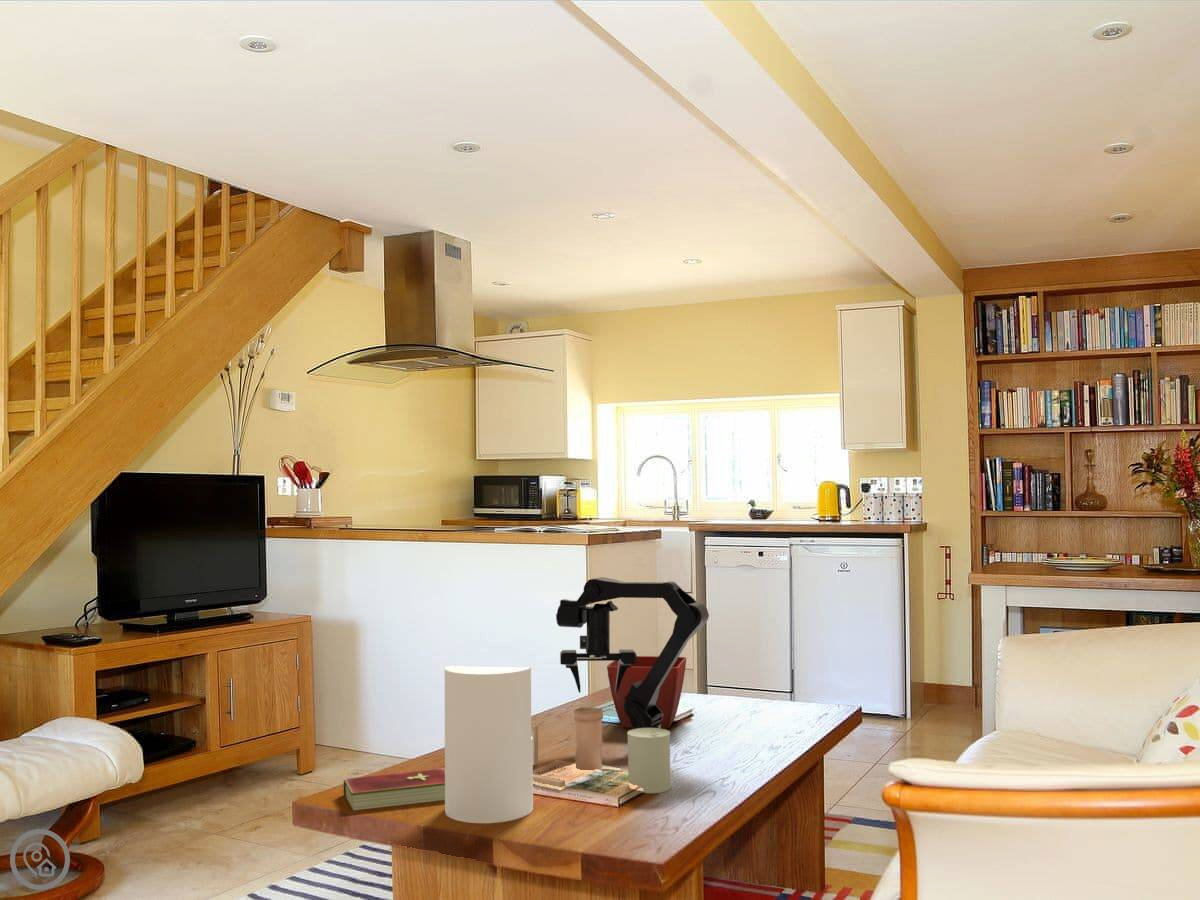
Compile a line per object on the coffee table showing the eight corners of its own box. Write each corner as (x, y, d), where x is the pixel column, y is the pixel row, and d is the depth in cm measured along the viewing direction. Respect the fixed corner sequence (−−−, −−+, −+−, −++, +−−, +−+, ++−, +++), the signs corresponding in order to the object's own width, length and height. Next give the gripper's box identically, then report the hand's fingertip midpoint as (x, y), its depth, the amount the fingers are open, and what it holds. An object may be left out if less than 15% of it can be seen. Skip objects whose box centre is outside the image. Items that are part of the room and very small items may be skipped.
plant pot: (619, 715, 293) (619, 654, 293) (687, 717, 289) (686, 656, 290) (606, 730, 274) (606, 665, 275) (678, 733, 270) (678, 667, 271)
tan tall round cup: (607, 765, 236) (606, 708, 237) (598, 773, 230) (597, 714, 231) (579, 763, 238) (579, 706, 239) (570, 771, 232) (569, 713, 233)
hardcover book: (343, 797, 217) (343, 776, 217) (443, 786, 224) (443, 766, 224) (351, 813, 206) (351, 792, 206) (456, 801, 213) (455, 780, 213)
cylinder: (521, 825, 196) (520, 675, 197) (433, 821, 199) (432, 673, 200) (541, 798, 213) (540, 660, 214) (459, 795, 216) (459, 659, 217)
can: (641, 796, 214) (640, 737, 215) (619, 785, 222) (619, 728, 223) (679, 789, 218) (678, 732, 219) (657, 779, 227) (656, 723, 227)
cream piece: (557, 757, 246) (557, 719, 246) (621, 770, 234) (621, 729, 235) (494, 777, 229) (494, 736, 229) (560, 792, 217) (559, 748, 218)
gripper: (632, 624, 267) (632, 685, 266) (559, 624, 266) (559, 686, 265) (636, 630, 256) (636, 694, 255) (560, 630, 255) (560, 695, 254)
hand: (598, 692), depth 258 cm, fingers open, 9 cm apart
